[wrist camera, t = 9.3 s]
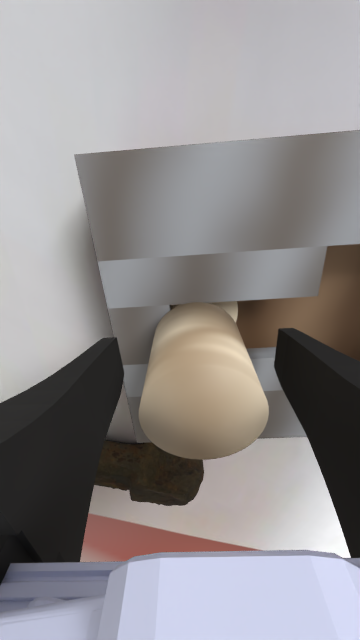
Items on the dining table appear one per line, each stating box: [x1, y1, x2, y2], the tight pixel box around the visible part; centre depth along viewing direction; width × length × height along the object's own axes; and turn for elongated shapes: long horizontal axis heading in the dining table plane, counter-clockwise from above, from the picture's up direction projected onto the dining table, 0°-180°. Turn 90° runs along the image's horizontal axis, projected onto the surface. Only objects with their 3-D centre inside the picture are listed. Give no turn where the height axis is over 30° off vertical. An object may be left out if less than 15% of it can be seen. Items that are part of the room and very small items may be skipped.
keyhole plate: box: [74, 130, 360, 443], centre depth 15 cm, size 18×16×4 cm
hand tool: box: [94, 441, 204, 506], centre depth 22 cm, size 19×4×5 cm, turn 77°
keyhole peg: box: [139, 301, 269, 460], centre depth 12 cm, size 5×5×9 cm
